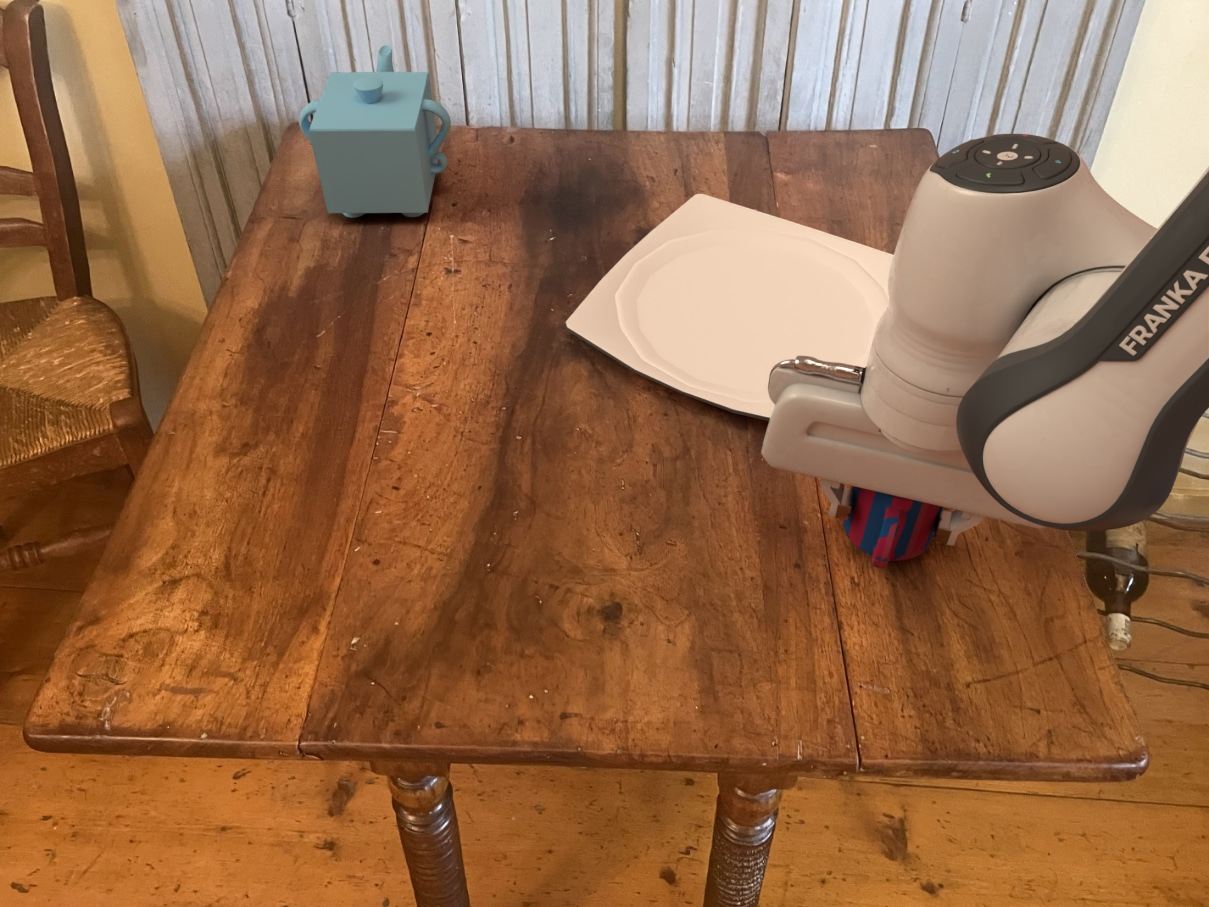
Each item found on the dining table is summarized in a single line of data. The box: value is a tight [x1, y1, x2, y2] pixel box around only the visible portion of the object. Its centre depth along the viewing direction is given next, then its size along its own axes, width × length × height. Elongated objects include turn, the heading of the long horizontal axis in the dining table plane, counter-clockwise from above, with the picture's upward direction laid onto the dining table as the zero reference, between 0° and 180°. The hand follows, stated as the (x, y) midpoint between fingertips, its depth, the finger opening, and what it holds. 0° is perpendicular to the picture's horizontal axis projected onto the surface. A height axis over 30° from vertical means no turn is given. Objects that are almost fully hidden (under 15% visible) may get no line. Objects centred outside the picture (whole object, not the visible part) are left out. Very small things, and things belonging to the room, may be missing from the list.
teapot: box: [298, 44, 452, 219], centre depth 106 cm, size 18×16×13 cm
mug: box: [842, 485, 944, 570], centre depth 72 cm, size 7×10×7 cm
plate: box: [564, 193, 894, 422], centre depth 92 cm, size 29×29×3 cm
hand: (891, 524), depth 72 cm, fingers closed on mug, 6 cm apart
